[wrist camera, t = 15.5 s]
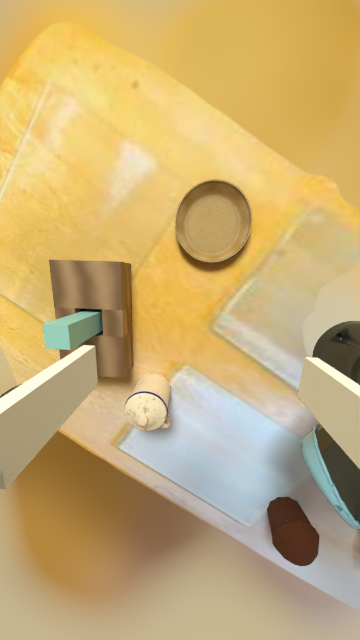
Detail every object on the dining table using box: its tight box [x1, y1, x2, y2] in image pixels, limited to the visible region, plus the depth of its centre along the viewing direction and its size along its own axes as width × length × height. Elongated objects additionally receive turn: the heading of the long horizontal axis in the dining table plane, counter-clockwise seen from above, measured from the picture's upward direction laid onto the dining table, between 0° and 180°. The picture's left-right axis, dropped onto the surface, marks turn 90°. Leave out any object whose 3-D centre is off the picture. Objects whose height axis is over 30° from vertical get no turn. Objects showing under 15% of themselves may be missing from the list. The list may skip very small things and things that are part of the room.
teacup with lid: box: [124, 373, 171, 431], centre depth 43 cm, size 12×9×12 cm
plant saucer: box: [175, 179, 252, 262], centre depth 38 cm, size 15×15×3 cm
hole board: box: [49, 260, 133, 378], centre depth 42 cm, size 14×24×6 cm, turn 178°
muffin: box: [267, 497, 319, 566], centre depth 50 cm, size 12×11×10 cm
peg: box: [43, 309, 103, 350], centre depth 37 cm, size 4×4×14 cm
